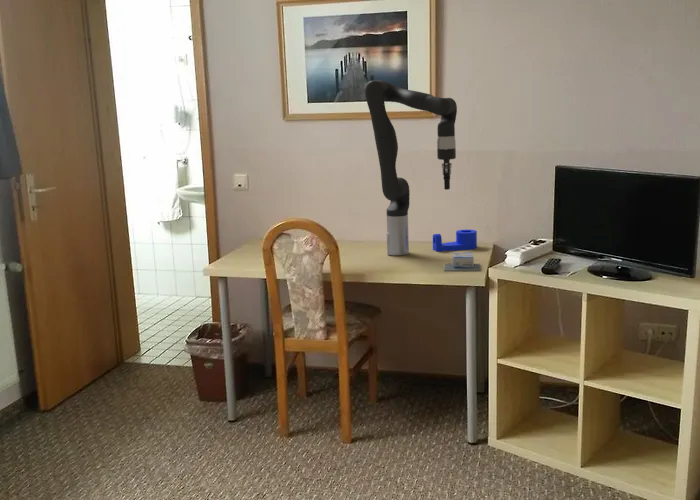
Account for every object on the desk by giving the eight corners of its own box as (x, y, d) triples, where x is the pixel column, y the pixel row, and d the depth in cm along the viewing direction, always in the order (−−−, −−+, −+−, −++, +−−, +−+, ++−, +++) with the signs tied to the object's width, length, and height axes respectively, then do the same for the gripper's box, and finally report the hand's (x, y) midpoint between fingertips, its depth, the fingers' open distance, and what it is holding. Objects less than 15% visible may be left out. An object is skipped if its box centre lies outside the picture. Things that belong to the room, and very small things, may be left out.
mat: (444, 271, 280) (444, 270, 280) (445, 264, 290) (445, 263, 290) (480, 271, 278) (480, 270, 277) (480, 264, 288) (480, 263, 288)
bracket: (472, 245, 326) (472, 228, 325) (479, 249, 317) (479, 232, 316) (431, 249, 322) (430, 232, 321) (437, 253, 314) (437, 236, 312)
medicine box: (472, 252, 289) (473, 256, 280) (472, 263, 290) (473, 267, 281) (452, 252, 290) (453, 257, 281) (452, 263, 291) (453, 268, 282)
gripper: (437, 146, 301) (438, 187, 305) (436, 148, 288) (437, 191, 292) (455, 145, 300) (456, 187, 304) (455, 148, 287) (456, 191, 291)
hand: (447, 189), depth 298 cm, fingers closed
